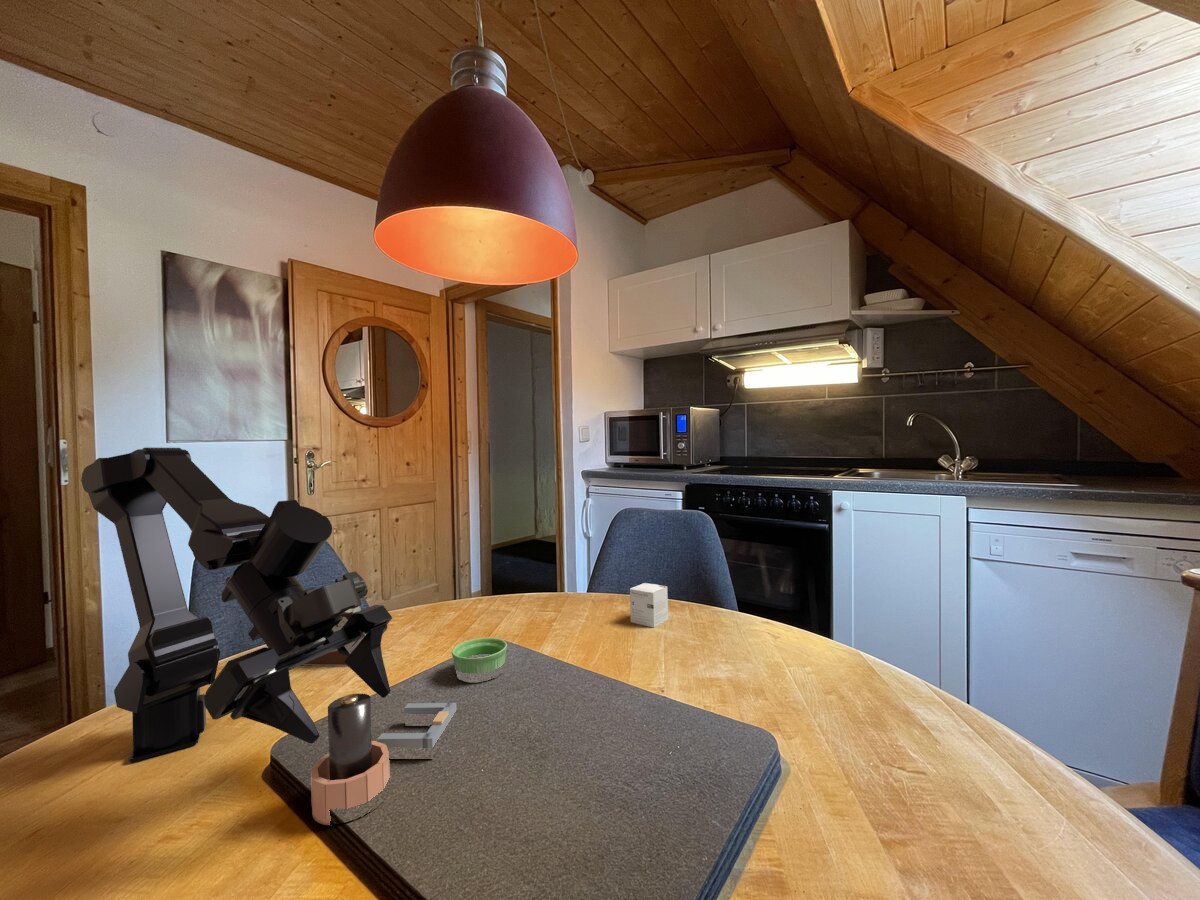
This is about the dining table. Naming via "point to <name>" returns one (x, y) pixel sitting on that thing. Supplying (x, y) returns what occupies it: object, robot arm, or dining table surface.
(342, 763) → the cylinder
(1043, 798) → the dining table surface
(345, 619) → the food container
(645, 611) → the skincare box
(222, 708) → the robot arm
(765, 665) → the dining table surface
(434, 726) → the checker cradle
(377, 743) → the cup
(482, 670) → the ramekin
